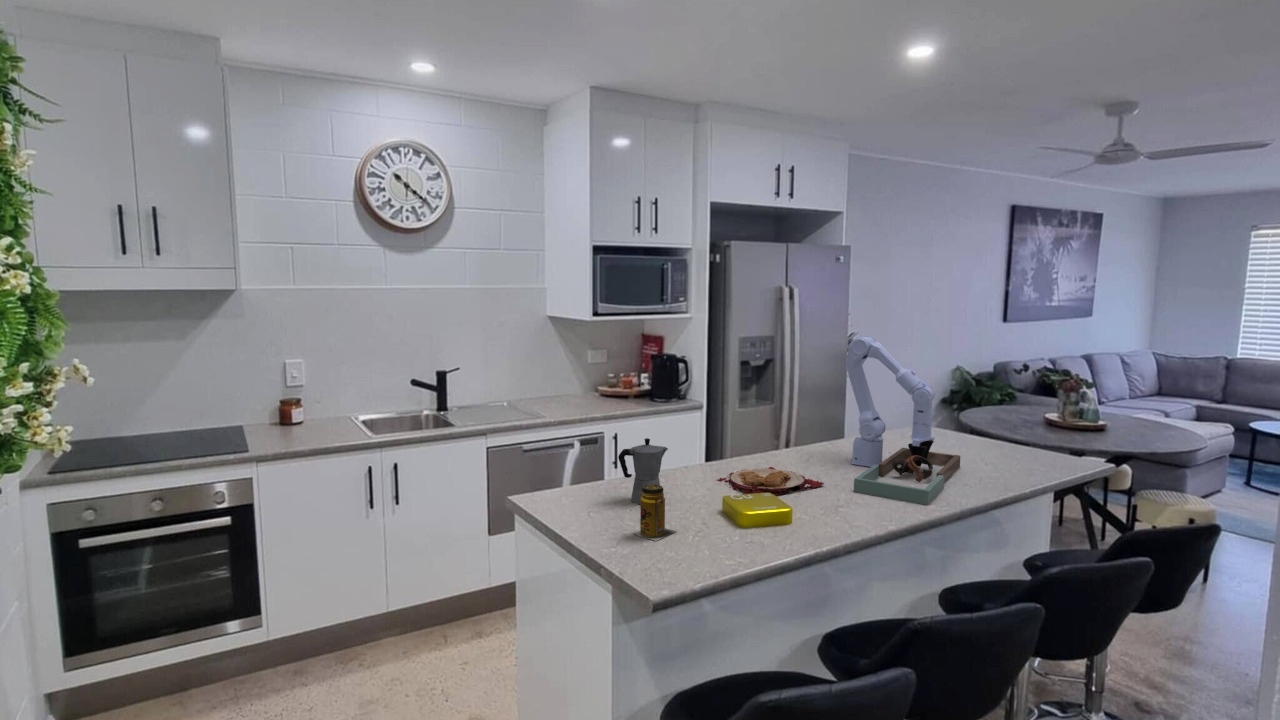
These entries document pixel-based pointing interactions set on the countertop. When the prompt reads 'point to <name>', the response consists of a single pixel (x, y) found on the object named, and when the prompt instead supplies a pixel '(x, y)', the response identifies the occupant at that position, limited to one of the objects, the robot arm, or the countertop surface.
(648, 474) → the coffeepot
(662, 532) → the condiment
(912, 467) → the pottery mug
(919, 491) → the frame
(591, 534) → the countertop surface
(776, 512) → the element tile
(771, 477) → the plate with food
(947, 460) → the brown wooden frame
